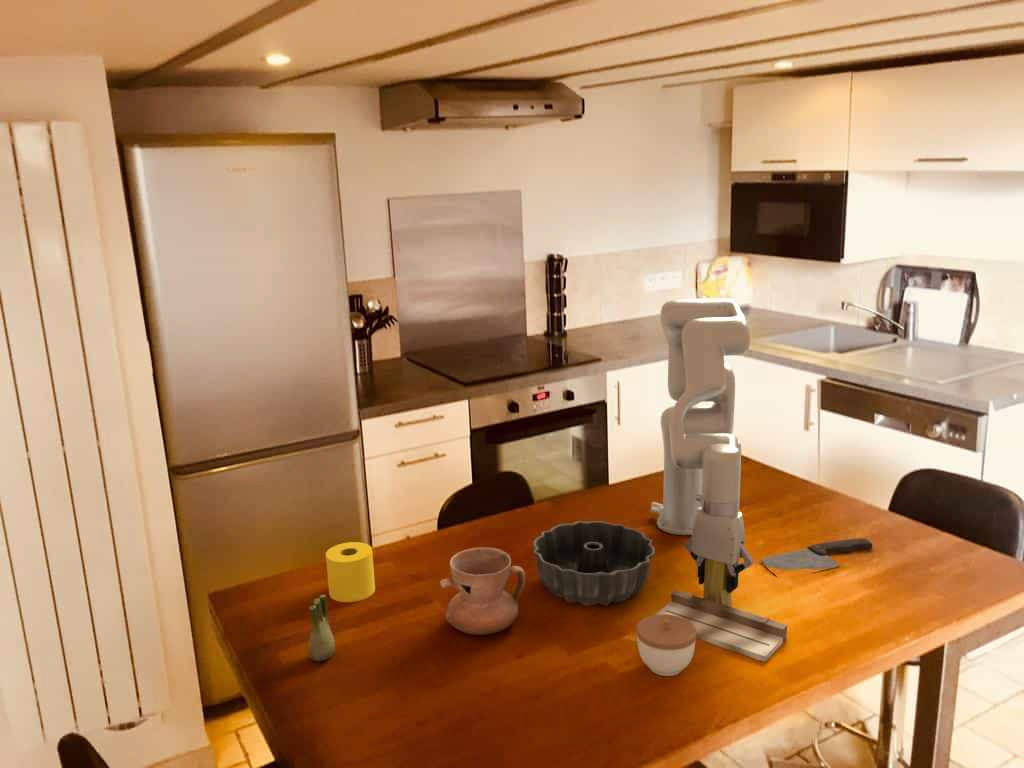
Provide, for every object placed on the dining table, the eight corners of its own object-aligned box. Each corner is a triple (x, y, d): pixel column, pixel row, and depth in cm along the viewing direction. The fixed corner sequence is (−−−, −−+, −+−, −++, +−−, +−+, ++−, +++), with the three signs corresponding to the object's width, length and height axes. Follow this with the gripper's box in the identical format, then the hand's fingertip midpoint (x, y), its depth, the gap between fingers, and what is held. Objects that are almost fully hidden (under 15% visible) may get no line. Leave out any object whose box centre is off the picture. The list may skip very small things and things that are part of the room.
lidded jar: (682, 690, 151) (683, 642, 149) (626, 673, 157) (627, 626, 155) (703, 660, 160) (705, 614, 158) (650, 645, 166) (650, 601, 163)
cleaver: (857, 541, 208) (858, 533, 207) (887, 557, 199) (888, 549, 198) (754, 564, 198) (754, 556, 198) (780, 583, 189) (781, 574, 189)
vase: (733, 598, 181) (735, 535, 178) (730, 612, 176) (732, 548, 172) (703, 594, 183) (705, 532, 180) (700, 608, 178) (701, 544, 174)
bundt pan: (680, 594, 185) (680, 551, 183) (580, 630, 172) (580, 585, 169) (604, 550, 207) (604, 511, 204) (511, 580, 194) (510, 539, 191)
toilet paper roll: (384, 589, 191) (381, 550, 189) (348, 606, 184) (344, 566, 181) (356, 576, 198) (353, 538, 195) (320, 592, 190) (316, 553, 188)
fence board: (651, 622, 174) (651, 608, 173) (675, 602, 181) (676, 588, 180) (765, 662, 159) (765, 646, 158) (786, 638, 166) (787, 623, 166)
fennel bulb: (326, 646, 169) (321, 590, 166) (343, 654, 166) (338, 598, 163) (302, 659, 164) (296, 602, 161) (319, 668, 161) (313, 610, 158)
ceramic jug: (452, 650, 166) (448, 583, 163) (433, 615, 179) (430, 552, 176) (539, 632, 172) (537, 566, 168) (515, 599, 185) (513, 537, 181)
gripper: (673, 501, 177) (671, 581, 181) (752, 521, 166) (748, 605, 170) (690, 490, 182) (688, 568, 187) (768, 508, 171) (764, 591, 176)
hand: (717, 585), depth 179 cm, fingers closed on vase, 5 cm apart
